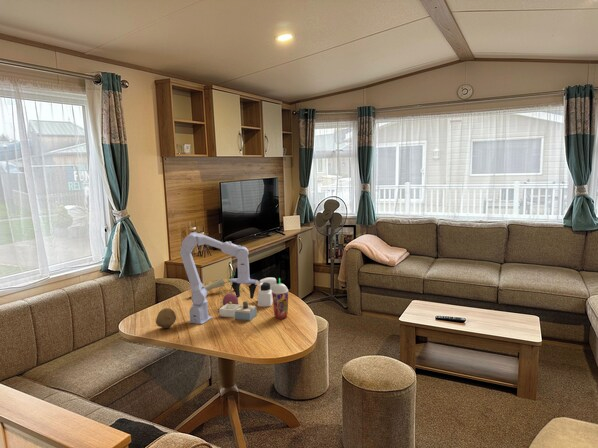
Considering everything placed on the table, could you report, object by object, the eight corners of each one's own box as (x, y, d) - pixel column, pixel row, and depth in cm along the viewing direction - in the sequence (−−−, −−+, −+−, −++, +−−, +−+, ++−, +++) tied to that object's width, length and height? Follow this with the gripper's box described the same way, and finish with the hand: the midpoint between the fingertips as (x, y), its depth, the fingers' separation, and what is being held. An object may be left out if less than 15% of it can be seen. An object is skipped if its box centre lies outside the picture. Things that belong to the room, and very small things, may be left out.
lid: (249, 313, 200) (248, 305, 200) (235, 311, 203) (235, 304, 202) (255, 307, 207) (255, 300, 207) (242, 306, 210) (242, 299, 209)
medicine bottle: (273, 302, 227) (272, 281, 225) (270, 306, 220) (269, 285, 218) (260, 302, 228) (259, 281, 226) (257, 306, 221) (256, 285, 219)
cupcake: (225, 311, 222) (231, 312, 212) (217, 298, 221) (223, 299, 211) (238, 302, 226) (245, 303, 216) (230, 289, 225) (237, 290, 215)
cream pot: (233, 317, 206) (233, 310, 205) (219, 316, 208) (219, 308, 208) (240, 312, 213) (240, 304, 213) (227, 310, 216) (226, 303, 215)
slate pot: (250, 321, 201) (249, 313, 200) (235, 319, 203) (235, 311, 203) (256, 315, 208) (256, 307, 208) (242, 313, 211) (242, 306, 210)
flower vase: (196, 307, 245) (248, 284, 260) (200, 307, 234) (254, 283, 249) (189, 289, 245) (241, 267, 261) (193, 288, 234) (247, 265, 250)
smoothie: (287, 320, 200) (285, 280, 197) (271, 319, 202) (269, 280, 199) (291, 313, 208) (289, 276, 205) (275, 313, 210) (273, 275, 207)
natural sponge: (180, 328, 195) (178, 308, 193) (162, 334, 189) (160, 313, 187) (171, 323, 201) (170, 304, 200) (154, 328, 195) (152, 309, 194)
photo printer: (275, 296, 237) (274, 275, 235) (278, 298, 233) (277, 277, 231) (258, 299, 232) (257, 278, 231) (261, 301, 229) (260, 280, 227)
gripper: (260, 269, 203) (261, 296, 206) (234, 268, 208) (235, 294, 210) (254, 273, 197) (255, 300, 199) (227, 272, 202) (229, 298, 204)
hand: (245, 297), depth 204 cm, fingers open, 7 cm apart
